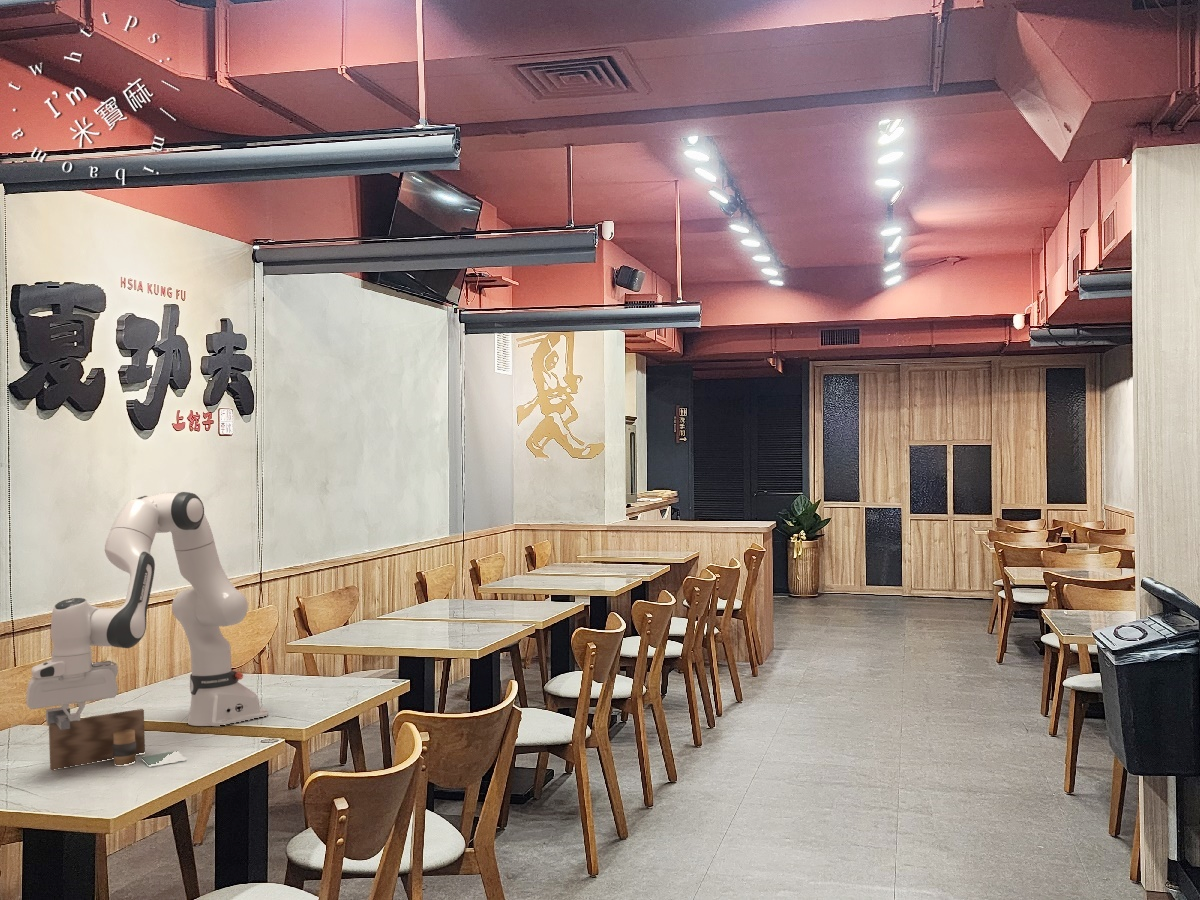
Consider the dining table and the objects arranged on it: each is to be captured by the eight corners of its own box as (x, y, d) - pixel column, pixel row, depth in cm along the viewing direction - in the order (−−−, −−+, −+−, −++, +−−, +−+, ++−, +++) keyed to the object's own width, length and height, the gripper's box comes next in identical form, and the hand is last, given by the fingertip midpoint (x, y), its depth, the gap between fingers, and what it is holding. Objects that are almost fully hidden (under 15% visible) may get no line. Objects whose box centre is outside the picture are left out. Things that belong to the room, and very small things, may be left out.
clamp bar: (68, 718, 269) (67, 706, 269) (76, 728, 258) (76, 715, 258) (46, 721, 267) (45, 709, 267) (54, 731, 255) (53, 719, 255)
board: (143, 752, 279) (142, 708, 279) (145, 754, 277) (143, 710, 277) (50, 768, 266) (48, 722, 266) (51, 770, 264) (49, 724, 264)
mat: (178, 753, 276) (178, 750, 276) (186, 760, 269) (186, 757, 269) (141, 760, 271) (141, 757, 271) (149, 767, 264) (149, 764, 264)
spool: (134, 759, 272) (133, 728, 272) (138, 763, 268) (137, 732, 268) (111, 763, 269) (110, 731, 269) (115, 768, 265) (114, 735, 265)
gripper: (115, 657, 271) (116, 712, 271) (24, 669, 259) (26, 725, 259) (119, 661, 266) (121, 716, 265) (27, 672, 254) (29, 730, 254)
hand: (73, 721), depth 262 cm, fingers closed
